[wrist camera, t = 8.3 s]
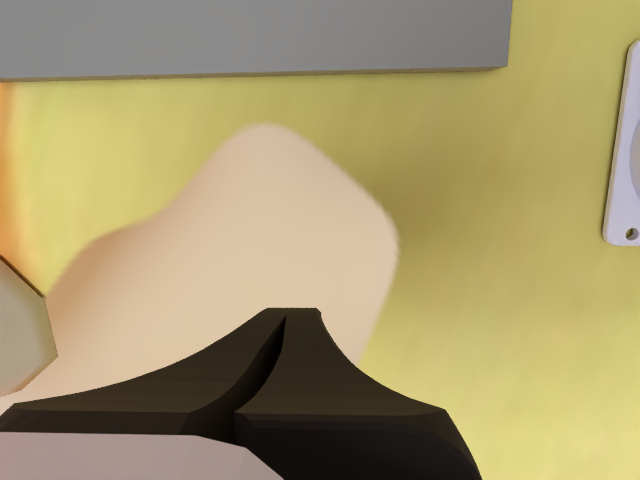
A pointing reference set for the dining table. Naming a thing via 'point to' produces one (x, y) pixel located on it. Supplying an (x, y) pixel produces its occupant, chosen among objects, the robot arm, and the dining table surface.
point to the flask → (22, 333)
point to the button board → (247, 38)
